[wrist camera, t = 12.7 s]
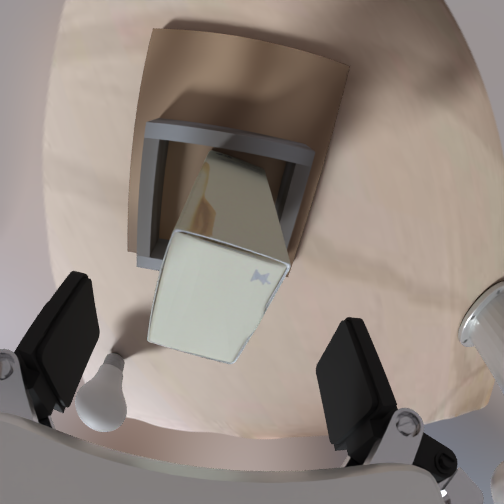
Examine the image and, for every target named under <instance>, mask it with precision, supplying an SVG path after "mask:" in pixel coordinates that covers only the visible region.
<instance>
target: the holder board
mask: <svg viewBox="0 0 504 504" xmlns="http://www.w3.org/2000/svg"><path fill="white" fill-rule="evenodd" d="M349 67H350V66H348V65H346V64H343V63H340V62H337V61H334V60H331V59H328V58H325V57H322V56H319V55H316V54H313V53H309V52H306V51H302V50H299V49H295V48H291V47H287V46H283V45H279V44H275V43H271V42H266V41H261V40H256V39H251V38H246V37H240V36H234V35H227V34H220V33H212V32H204V31H193V30H180V29H154V28H153V31H152V35H151V39H150V43H149V47H148V52H147V56H146V61H145V66H144V71H143V76H142V81H141V87H140V93H139V99H138V105H137V112H136V119H135V127H134V136H133V145H132V155H131V166H130V180H129V199H128V251H129V252H135V253H137V267H141V268H146V269H152V270H158V271H160V269H161V265H162V262H163V258H164V255H165V252H166V249H167V246H168V243H169V240H170V237H171V234H172V232H173V230H174V228H175V226H176V224H177V221H178V219H179V217H180V215H181V212H182V210H183V208H184V205H185V203H186V201H187V199H188V196H189V194H190V192H191V190H192V187H193V185H194V183H195V181H196V178H197V176H198V174H199V172H200V170H201V168H202V165H203V163H204V161H205V159H206V157H207V155H208V153H209V151H211V150H212V151H216V152H219V153H223V154H226V155H229V156H232V157H235V158H238V159H240V160H243V161H245V162H248V163H250V164H253V165H255V166H258V167H260V168H262V169H264V170H265V173H266V177H267V180H268V184H269V187H270V191H271V194H272V198H273V201H274V205H275V208H276V212H277V216H278V219H279V223H280V226H281V230H282V234H283V237H284V241H285V245H286V249H287V252H288V256H289V260H290V264H291V266H292V263H293V260H294V257H295V254H296V251H297V248H298V245H299V242H300V239H301V236H302V233H303V230H304V227H305V224H306V220H307V217H308V214H309V211H310V208H311V204H312V201H313V198H314V195H315V191H316V188H317V185H318V181H319V178H320V175H321V171H322V168H323V164H324V161H325V157H326V154H327V151H328V147H329V143H330V140H331V136H332V133H333V129H334V125H335V122H336V118H337V114H338V111H339V107H340V103H341V99H342V95H343V91H344V88H345V84H346V80H347V76H348V72H349ZM290 269H291V267H290ZM289 272H290V270H289V271H288V273H287V274H286V276H285V277H288V275H289Z"/></svg>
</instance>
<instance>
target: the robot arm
mask: <svg viewBox="0 0 504 504" xmlns="http://www.w3.org/2000/svg"><path fill="white" fill-rule="evenodd" d="M99 334H100V330H99V325H98V319H97V314H96V308H95V302H94V295H93V288H92V281H91V279H88V276H87V274H84V273H80V272H76V271H72V272H71V273H70V274H69V275H68V276H67V278H66V279H65V280H64V282H63V283H62V284H61V286H60V287H59V288H58V290H57V291H56V292H55V294H54V295H53V296H52V298H51V299H50V301H49V302H47V303H46V305H45V306H44V307H43V309H42V310H41V312H40V313H39V315H38V316H37V318H36V319H35V320H34V322H33V324H32V325H31V327H30V328H29V329H28V331H27V333H26V334H25V336H24V337H23V339H22V340H21V342H20V344H19V345H18V347H17V349H16V350H15V352H12V351H10V350H7V349H0V504H483V500H484V497H483V493H482V491H481V490H480V489H479V488H478V487H477V485H476V484H475V483H474V482H473V481H472V480H471V479H470V478H469V476H468V475H467V474H466V473H465V472H464V471H463V470H462V469H461V468H458V469H457V459H456V456H455V454H454V453H453V451H452V450H450V449H449V448H447V447H446V446H444V445H442V444H441V443H439V442H438V441H436V440H435V439H433V438H431V437H430V436H428V435H426V434H425V433H424V432H423V431H424V424H423V421H422V419H421V417H420V416H419V414H418V413H416V412H415V411H414V410H412V409H409V408H401V409H397V406H396V405H397V403H396V400H395V398H394V395H393V392H392V390H391V387H390V384H389V382H388V379H387V377H386V374H385V372H384V369H383V367H382V364H381V362H380V359H379V357H378V354H377V352H376V349H375V347H374V345H373V342H372V340H371V338H370V335H369V333H368V331H367V328H366V326H365V324H364V321H363V320H362V319H361V318H351V317H347V318H346V319H345V320H344V321H341V323H340V324H339V326H338V328H337V330H336V332H335V334H334V335H333V337H332V339H331V341H330V343H329V344H328V346H327V348H326V350H325V352H324V353H323V355H322V357H321V359H320V360H319V362H318V364H317V366H316V375H317V379H318V384H319V389H320V394H321V399H322V403H323V408H324V413H325V418H326V423H327V429H328V434H329V439H330V442H331V444H334V447H335V451H337V450H347V452H348V457H347V458H346V460H345V461H344V463H343V465H342V466H341V468H332V469H319V470H305V471H276V472H275V471H240V470H225V469H214V468H205V467H197V466H189V465H182V464H176V463H171V462H165V461H159V460H155V459H150V458H145V457H141V456H137V455H132V454H128V453H124V452H121V451H117V450H114V449H110V448H107V447H103V446H100V445H97V444H94V443H91V442H88V441H85V440H82V439H79V438H76V437H73V436H71V435H68V434H65V433H63V432H60V431H58V430H56V429H55V427H54V424H53V422H52V419H51V416H50V415H51V414H52V411H53V409H54V410H57V411H59V412H62V413H64V410H65V407H69V406H70V404H71V402H72V400H73V397H74V394H75V392H76V389H77V387H78V384H79V382H80V379H81V377H82V375H83V372H84V370H85V368H86V365H87V363H88V361H89V358H90V356H91V354H92V352H93V349H94V347H95V345H96V343H97V341H98V338H99ZM458 338H459V341H460V342H461V344H462V345H463V346H466V347H472V346H475V348H476V349H477V351H478V352H479V354H480V355H481V357H482V359H483V360H484V362H485V363H486V365H487V367H488V368H489V370H490V372H491V373H492V375H493V377H494V378H495V380H496V382H497V383H498V385H499V387H500V389H501V391H502V393H503V394H504V281H503V282H500V283H497V284H496V285H494V286H492V287H491V288H490V289H488V290H487V291H486V292H485V293H484V294H483V295H481V296H480V298H479V299H478V300H477V301H476V302H475V303H474V304H473V306H472V307H471V308H470V310H469V311H468V312H467V314H466V316H465V317H464V319H463V321H462V323H461V325H460V328H459V332H458ZM491 492H492V497H493V501H494V504H504V461H503V462H501V463H500V464H499V465H498V466H497V468H496V469H495V470H494V472H493V475H492V478H491Z"/></svg>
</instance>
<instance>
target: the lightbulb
mask: <svg viewBox="0 0 504 504" xmlns="http://www.w3.org/2000/svg"><path fill="white" fill-rule="evenodd" d="M124 364H125V362H124V360H123V358H122V357H121V356H120V355H118V354H114V353H110V354H108V355H107V356H106V358H105V360H104V363H103V365H101V366H100V368H99V370H98V372H97V374H96V375H95V376H94V377H93V378H92V379H91V380H90V381H88V382H87V383H86V384H84V385H83V386H82V387H81V388H80V389H79V391H78V392H77V395H76V400H75V404H76V405H75V406H76V410H77V413H78V415H79V417H80V418H81V420H82V421H83V422H84V423H85V424H86V425H87V426H88V427H90V428H92V429H94V430H96V431H100V432H108V431H113V430H115V429H117V428H118V427H119V426H121V424H122V423H123V422H124V420H125V418H126V414H127V406H126V402H125V398H124V395H123V392H122V380H123V374H122V372H123V368H124Z"/></svg>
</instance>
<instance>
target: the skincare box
mask: <svg viewBox="0 0 504 504" xmlns="http://www.w3.org/2000/svg"><path fill="white" fill-rule="evenodd" d="M290 267H291V264H290V260H289V256H288V252H287V249H286V245H285V241H284V237H283V234H282V230H281V226H280V223H279V219H278V216H277V212H276V208H275V205H274V201H273V198H272V194H271V191H270V187H269V184H268V180H267V177H266V173H265V170H264V169H262V168H260V167H258V166H255V165H253V164H250V163H248V162H245V161H243V160H240V159H238V158H235V157H232V156H229V155H226V154H223V153H219V152H216V151H212V150H211V151H209V153H208V155H207V157H206V159H205V161H204V163H203V165H202V168H201V170H200V172H199V174H198V176H197V178H196V181H195V183H194V185H193V187H192V190H191V192H190V194H189V196H188V199H187V201H186V203H185V205H184V208H183V210H182V212H181V215H180V217H179V219H178V221H177V224H176V226H175V228H174V230H173V232H172V234H171V237H170V240H169V243H168V246H167V249H166V252H165V255H164V258H163V262H162V265H161V269H160V272H159V277H158V281H157V285H156V289H155V294H154V299H153V304H152V309H151V315H150V322H149V328H148V336H147V340H148V341H149V342H151V343H154V344H158V345H161V346H164V347H167V348H170V349H174V350H177V351H181V352H184V353H188V354H192V355H195V356H199V357H202V358H206V359H210V360H215V361H219V362H223V363H227V364H233V363H235V362H236V360H237V359H238V357H239V355H240V354H241V352H242V351H243V349H244V347H245V346H246V344H247V342H248V341H249V339H250V337H251V336H252V334H253V333H254V331H255V330H256V328H257V326H258V325H259V323H260V321H261V319H262V317H263V315H264V314H265V312H266V310H267V308H268V306H269V305H270V303H271V301H272V300H273V298H274V296H275V294H276V292H277V291H278V289H279V287H280V285H281V284H282V282H283V280H284V278H285V276H286V274H287V273H288V271H289V270H290Z"/></svg>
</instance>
